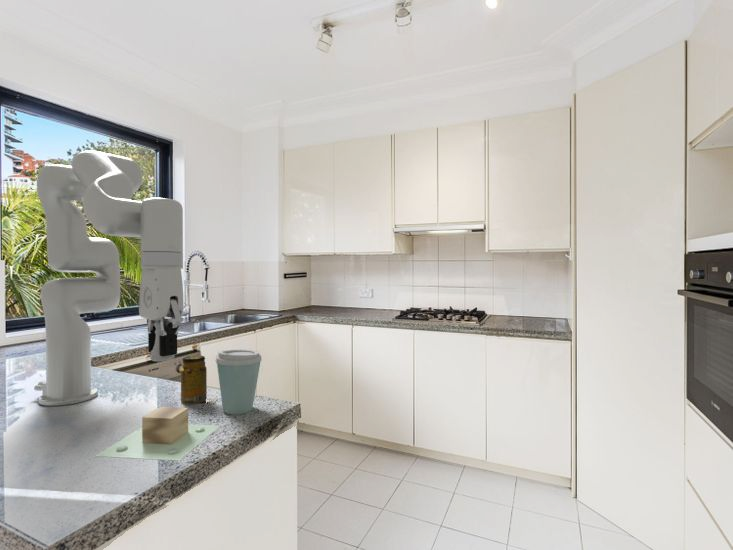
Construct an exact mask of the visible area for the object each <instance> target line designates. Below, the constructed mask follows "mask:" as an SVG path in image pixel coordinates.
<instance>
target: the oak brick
mask: <svg viewBox="0 0 733 550" xmlns="http://www.w3.org/2000/svg"><path fill="white" fill-rule="evenodd" d="M141 419H142V420H141V424H142V426H141V427H142V443H152V444H173V443H175V442H176V441H177V440H178V439H180V438H181V437H182V436H184V435H185V434H186V433H188V424H189V407H179V406H178V407H175V406H172V407H171V406H160V407H158V408H155V409H154V410H153V411H151V412H149V413H147V414H146V415H144V416H142V418H141Z"/></svg>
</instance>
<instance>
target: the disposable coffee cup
mask: <svg viewBox="0 0 733 550" xmlns="http://www.w3.org/2000/svg"><path fill="white" fill-rule="evenodd" d="M217 353H218V354H217V355H216V356H215V363H216V367H217V374H218V383H219V391H220V397H221V406H222V407H221V408H222V411H223V413H225V414H227V415H242V414H245V413H248V412H251V411H252V410H253V407H254V402H255V396H256V391H257V384H258V379H259V373H260V366H261V362H262V361H263V359H262V358H263V357H262V355H261V354H260V352H258V351H257V350H252V349H226V350H225V349H224V350H219V351H218V352H217Z"/></svg>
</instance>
